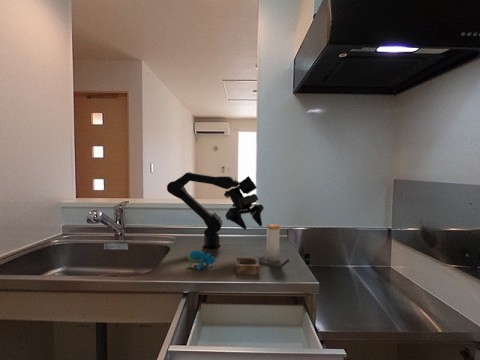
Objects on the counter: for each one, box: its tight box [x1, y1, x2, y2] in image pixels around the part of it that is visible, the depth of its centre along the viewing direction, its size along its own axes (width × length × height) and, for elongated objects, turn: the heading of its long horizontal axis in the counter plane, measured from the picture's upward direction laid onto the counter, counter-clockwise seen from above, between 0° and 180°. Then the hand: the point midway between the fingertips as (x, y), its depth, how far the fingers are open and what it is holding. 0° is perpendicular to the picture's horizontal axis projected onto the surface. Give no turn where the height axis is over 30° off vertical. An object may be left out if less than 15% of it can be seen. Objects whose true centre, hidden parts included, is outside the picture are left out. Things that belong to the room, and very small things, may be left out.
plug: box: [266, 223, 281, 262], centre depth 113 cm, size 5×5×14 cm
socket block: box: [235, 257, 260, 276], centre depth 103 cm, size 8×8×4 cm
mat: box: [258, 253, 290, 269], centre depth 113 cm, size 10×10×1 cm
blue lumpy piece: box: [187, 249, 216, 271], centre depth 105 cm, size 11×6×10 cm
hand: (253, 227), depth 121 cm, fingers open, 9 cm apart
